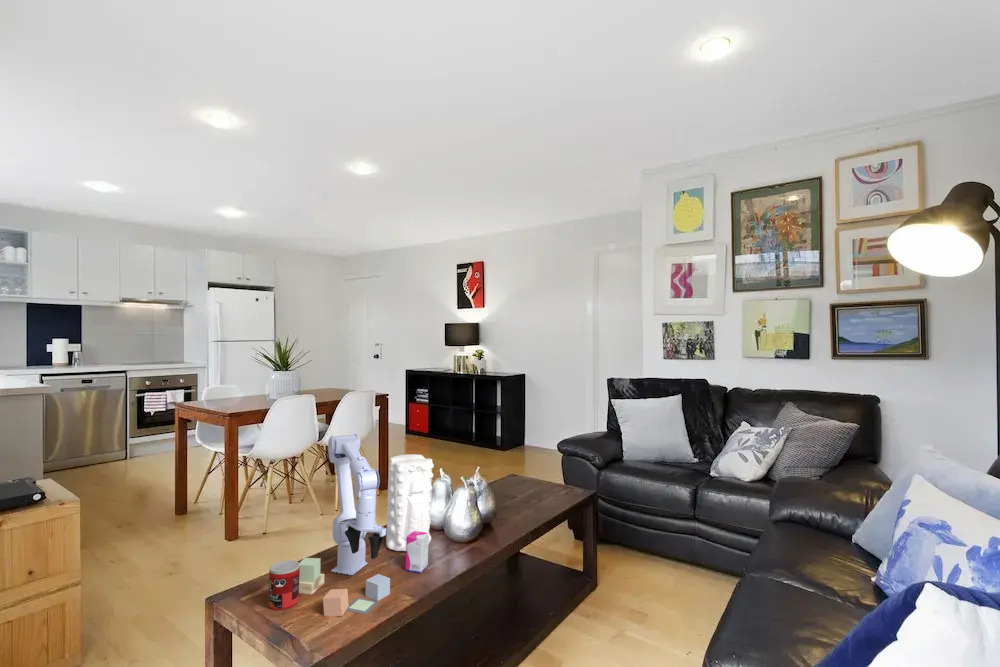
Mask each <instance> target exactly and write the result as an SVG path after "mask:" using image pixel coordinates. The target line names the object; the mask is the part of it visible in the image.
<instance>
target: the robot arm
mask: <svg viewBox="0 0 1000 667" xmlns="http://www.w3.org/2000/svg"><path fill="white" fill-rule="evenodd" d="M327 444H328V445H327V449H328V450H327V451H328V459H329V462H330V463H332V464H334V468H335V473H336V482H337V491H338V492H337V494H338V501H339V509H340V513H339V514H337V516H336V517H335V518H334V519H333V521H332V538H333V541H334V543H335V544H337V555H336V556H337V560H336V561H337V563H336V564H337V565H336V566H334V568H332V569H331V572H332V573H336V572H337V574H341V573H342V574H343V575H347V574H348V576H354V575H355V574H356V573H357V572H359V571H360V570H361V569H363V568H364V567H365V566H366V565H368V562H367V561H366V554H367V553H366V547H367V546H366V541H365V540H364V539H365V537H366V536H367V533H370V534H372V535H370V536H368V537H367V539H368V541H369V545H370V558H371V560H375V559H376V558H378V555H379V552H380V549H381V545H383V544H382V543H383V542H384V539H386V538H385V537H387V527H383V526H381V525H380V524H377V520H376V505H377V504H376V503H377V489H378V488H379V487H380V480H381V479H380V474H379V472H378V469H377V468H376V469H375V468H372V467H371V465H370V464H369V461H368V459H367V458H366V457H365V456H362V455H361V452H360V449H361V438H360V436H359V434H357V433H355V434H345V435H331V436H330V437H329V439H328V440H327ZM352 476H353V478H354V482H353V479H352ZM353 483H354V488H353ZM354 491H355V492H354ZM354 493H355V496H356V506H355V497H354Z"/></svg>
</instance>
